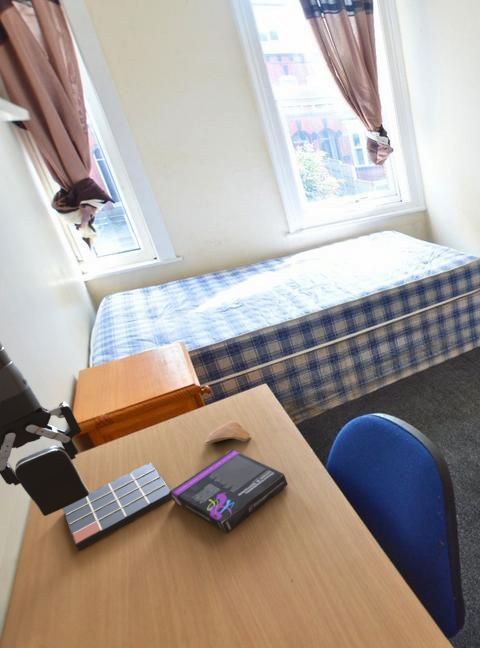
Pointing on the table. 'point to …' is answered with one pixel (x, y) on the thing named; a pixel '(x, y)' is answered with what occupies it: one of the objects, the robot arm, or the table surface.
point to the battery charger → (51, 479)
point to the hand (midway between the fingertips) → (45, 469)
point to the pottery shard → (228, 433)
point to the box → (229, 490)
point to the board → (115, 505)
